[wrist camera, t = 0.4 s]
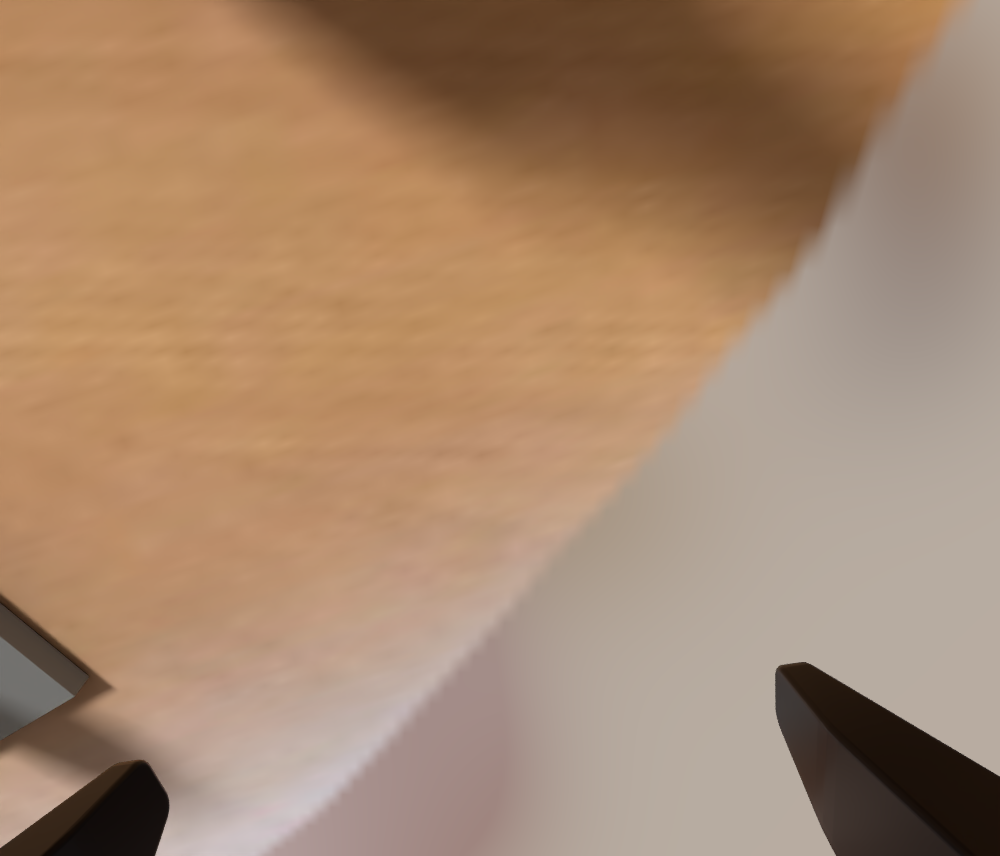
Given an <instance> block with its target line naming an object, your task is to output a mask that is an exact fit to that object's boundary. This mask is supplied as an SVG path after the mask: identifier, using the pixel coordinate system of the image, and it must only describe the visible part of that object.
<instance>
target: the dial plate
mask: <svg viewBox="0 0 1000 856" xmlns="http://www.w3.org/2000/svg"><path fill="white" fill-rule="evenodd" d="M88 678H89V676H88V675H87V674H85V673H84V672H83V671H82V670H81V669H79V668H78V667H77V666H76V665H75V664H73V663H72V662H71V661H70V660H68V659H67V658H66V657H65V656H64V655H62V654H61V653H60V652H59V651H58V650H56V649H55V648H54V647H53V646H52V645H50V644H49V643H48V642H47V641H45V640H44V639H43V638H42V637H41V636H39V635H38V634H37V633H36V632H35V631H33V630H32V629H31V628H30V627H29V626H27V625H26V624H25V623H24V622H22V621H21V620H20V619H19V618H18V617H16V616H15V615H14V614H13V613H12V612H10V611H9V610H8V609H7V608H6V607H4V606H3V605H2V604H1V603H0V740H2V739H4V738H5V737H7V736H9V735H10V734H12V733H14V732H16V731H17V730H19V729H21V728H22V727H24V726H26V725H27V724H29V723H31V722H32V721H34V720H36V719H38V718H39V717H41V716H43V715H44V714H46V713H48V712H49V711H51V710H53V709H54V708H56V707H58V706H60V705H61V704H63V703H65V702H66V701H68V700H70V699H71V698H73V697H75V696H76V694H77V693H78V691H79V690H80V689H81V687H82V686H83V685H84V683H85V682H86V681H87V679H88Z"/></svg>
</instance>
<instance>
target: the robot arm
mask: <svg viewBox="0 0 1000 856" xmlns="http://www.w3.org/2000/svg"><path fill="white" fill-rule="evenodd" d="M775 679H776V680H775V681H776V683H775V686H776V689H775V690H776V691H775V692H776V695H775V697H776V715H777V719H778V723H779V726H780V729H781V731H782V734H783V736H784V738H785V741H786V743H787V746H788V748H789V751H790V753H791V755H792V757H793V760H794V763H795V765H796V767H797V770H798V772H799V775H800V777H801V780H802V782H803V784H804V787H805V789H806V792H807V794H808V797H809V799H810V801H811V804H812V806H813V809H814V811H815V813H816V816H817V818H818V820H819V822H820V825H821V827H822V829H823V831H824V833H825V835H826V837H827V839H828V841H829V843H830V845H831V847H832V849H833V850H834V852H835V854H836V856H1000V776H998V775H996V774H994V773H993V772H991V771H989V770H988V769H986V768H984V767H983V766H981V765H979V764H978V763H976V762H974V761H973V760H971V759H969V758H968V757H966V756H964V755H962V754H961V753H959V752H958V751H956V750H954V749H952V748H951V747H949V746H947V745H946V744H944V743H942V742H941V741H939V740H937V739H936V738H934V737H932V736H930V735H929V734H927V733H926V732H924V731H922V730H920V729H919V728H917V727H915V726H914V725H912V724H910V723H909V722H907V721H905V720H903V719H902V718H900V717H899V716H897V715H895V714H894V713H892V712H890V711H889V710H887V709H885V708H883V707H882V706H880V705H878V704H877V703H875V702H873V701H872V700H870V699H868V698H867V697H865V696H863V695H861V694H860V693H858V692H856V691H855V690H853V689H852V688H850V687H848V686H846V685H845V684H843V683H841V682H840V681H838V680H836V679H835V678H833V677H831V676H829V675H828V674H826V673H825V672H823V671H821V670H819V669H818V668H816V667H814V666H813V665H811V664H809V663H806V662H799V663H792V664H786V665H780V666H779V667H778V668H777V669H776V674H775ZM168 813H169V798H168V795H167V792H166V791H165V789H164V787H163V786H162V784H161V782H160V781H159V779H158V778H157V776H156V774H155V773H154V771H153V769H152V768H151V766H150V765H149V763H148V762H146V761H145V760H134V761H128V762H121V763H117V764H115V765H113V766H112V767H110V768H109V769H107V770H106V771H105V772H103V773H102V774H101V775H99V776H98V777H97V778H95V779H94V780H93V781H91V782H90V783H88V784H87V785H86V786H84V787H83V788H82V789H80V790H79V791H78V792H76V793H75V794H73V795H72V796H71V797H69V798H68V799H67V800H65V801H64V802H63V803H61V804H60V805H58V806H57V807H56V808H54V809H53V810H52V811H50V812H49V813H48V814H46V815H45V816H43V817H42V818H41V819H39V820H38V821H37V822H35V823H34V824H33V825H31V826H30V827H29V828H27V829H26V830H24V831H23V832H22V833H20V834H19V835H18V836H16V837H15V838H14V839H12V840H11V841H9V842H8V843H7V844H5V845H4V846H3V847H1V848H0V856H155V854H156V851H157V848H158V845H159V842H160V839H161V836H162V833H163V830H164V827H165V824H166V821H167V818H168Z"/></svg>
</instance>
